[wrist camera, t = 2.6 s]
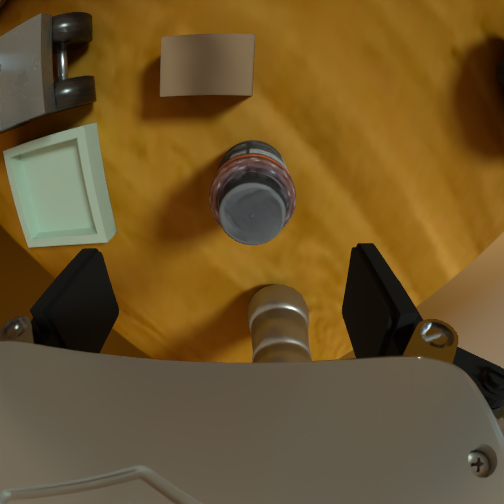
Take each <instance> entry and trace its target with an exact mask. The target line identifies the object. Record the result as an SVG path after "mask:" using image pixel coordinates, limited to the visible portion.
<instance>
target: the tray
mask: <svg viewBox="0 0 504 504" xmlns="http://www.w3.org/2000/svg"><path fill="white" fill-rule="evenodd" d="M3 154H4V159H5V164H6V169H7V174H8V178H9V183H10V187H11V191H12V195H13V199H14V202H15V206H16V210H17V213H18V217H19V220H20V223H21V226H22V230H23V233H24V236H25V239H26V242H27V245H28V247H43V246H58V245H74V244H90V243H107V242H109V240H110V239H111V238H112V237H113V236H114V235H115V233H116V232H117V230H116V226H115V222H114V217H113V213H112V208H111V204H110V199H109V194H108V189H107V184H106V179H105V174H104V168H103V162H102V157H101V150H100V144H99V137H98V130H97V122H96V123H92V124H87V125H83V126H80V127H76V128H72V129H68V130H65V131H61V132H58V133H54V134H51V135H48V136H44V137H41V138H38V139H35V140H32V141H29V142H26V143H23V144H20V145H17V146H15V147H12V148H10V149H7V150H5V151H3Z"/></svg>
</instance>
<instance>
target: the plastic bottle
mask: <svg viewBox="0 0 504 504" xmlns="http://www.w3.org/2000/svg"><path fill="white" fill-rule="evenodd" d="M247 318H248V324H249V329H250V332H251V338H252V348H253V358H252V360H253V361H252V363H272V362H303V361H312V358H311V354H310V350H309V339H308V324H309V311H308V307H307V305H306V303H305V301H304V299H303V297H302V295H301V294H300V293H299V292H298V291H296V290H295V289H293V288H291V287H288V286H285V285H278V284H277V285H269V286H266V287H264V288H262V289H260V290H259V291H257V292H256V293H255V294H254V295H253V296H252V298H251V300H250V303H249V306H248V309H247Z"/></svg>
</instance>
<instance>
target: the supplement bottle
mask: <svg viewBox="0 0 504 504" xmlns="http://www.w3.org/2000/svg"><path fill="white" fill-rule="evenodd" d="M209 203H210V208H211V211H212V214H213V216H214V218H215V219H216V221H217V222H218V224H219V225H220V226H221V227H222V228H223V230H224V231H225V232H226V234H227V235H228V236H230V237H231V238H232V239H234V240H235V241H237V242H239V243H242V244H247V245H258V244H263V243H265V242H268V241H270V240H271V239H273V238H274V237H275V236H277V235H278V233H279V232H280V231H281V229H282V228H283V227H284V226H285V225H286V224H287V223H288V222H289V220H290V218H291V217H292V215H293V213H294V209H295V205H296V192H295V187H294V184H293V181H292V178H291V176H290V174H289V172H288V169H287V167H286V165H285V163H284V160H283V159H282V157H281V155H280V154H279V152H278V151H277V150H276V149H275V148H273V147H272V146H271V145H269V144H267V143H264V142H261V141H254V140H251V141H245V142H242V143H239V144H237V145H235V146H234V147H232V148H231V149H230V150H229V151H228V152H227V153H226V155H225V156H224V158H223V160H222V162H221V164H220V166H219V168H218V170H217V172H216V174H215V176H214V179H213V181H212V184H211V188H210V193H209Z"/></svg>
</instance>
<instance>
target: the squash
mask: <svg viewBox="0 0 504 504" xmlns="http://www.w3.org/2000/svg"><path fill="white" fill-rule="evenodd" d="M497 75H498V77H499V79H500V81H501V83H502V84H503V85H504V59H503V60H502V61H501V62H499V64H498V68H497Z"/></svg>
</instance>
